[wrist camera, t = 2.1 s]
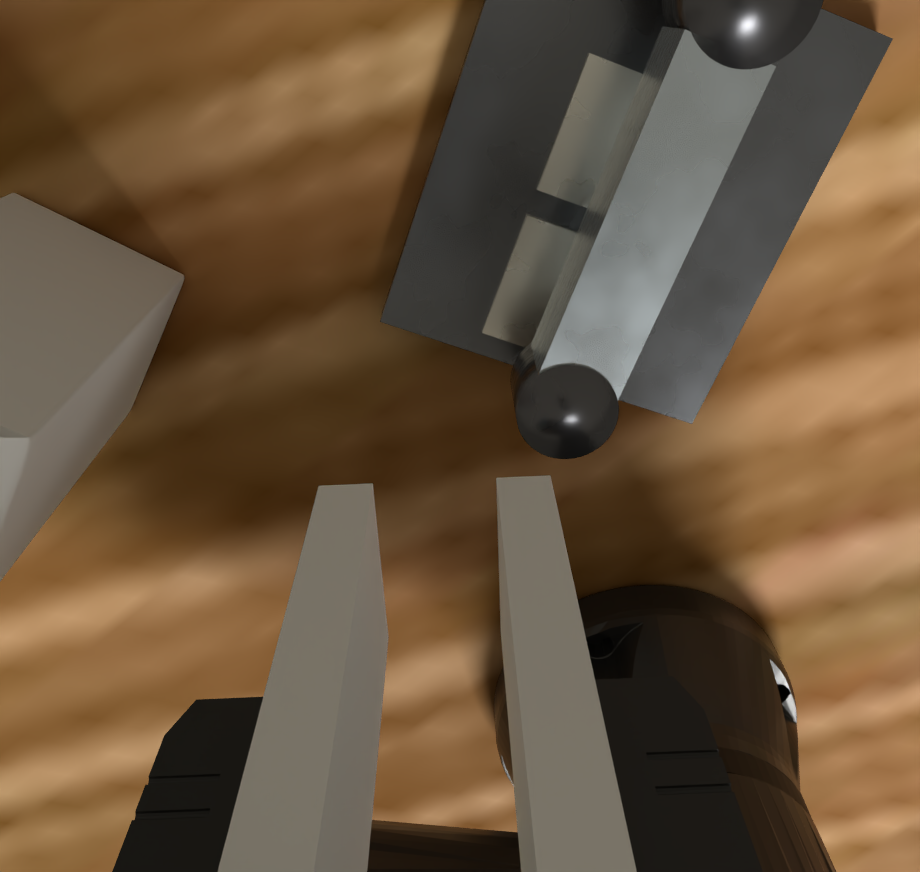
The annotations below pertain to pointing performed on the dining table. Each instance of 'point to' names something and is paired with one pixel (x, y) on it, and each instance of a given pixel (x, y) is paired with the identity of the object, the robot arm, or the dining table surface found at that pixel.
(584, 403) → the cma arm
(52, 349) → the milk carton
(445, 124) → the plate
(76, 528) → the dining table surface
